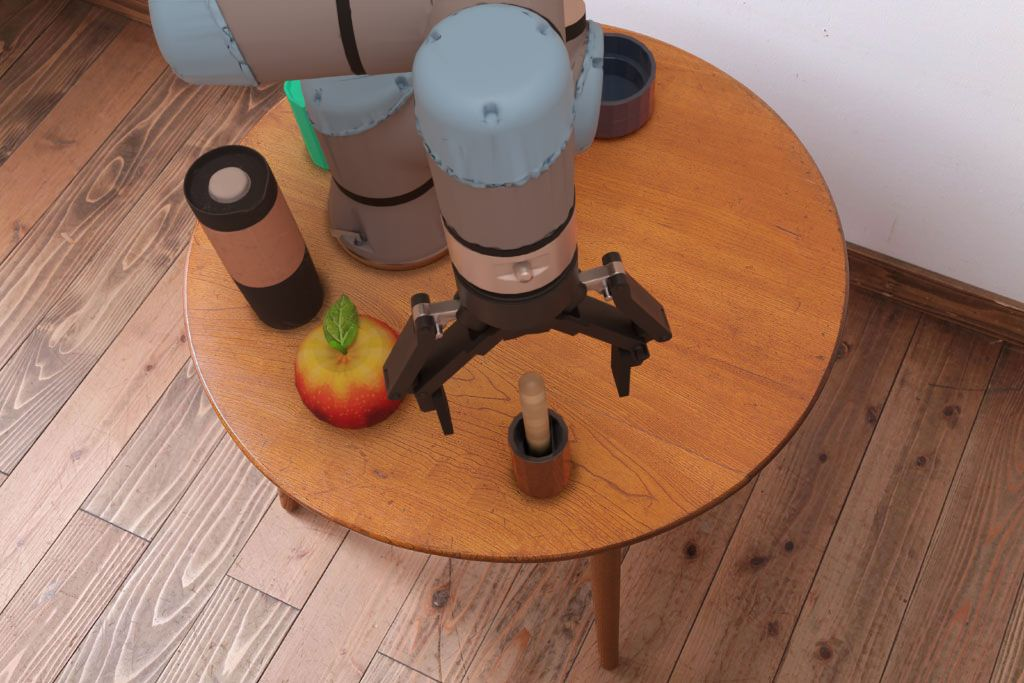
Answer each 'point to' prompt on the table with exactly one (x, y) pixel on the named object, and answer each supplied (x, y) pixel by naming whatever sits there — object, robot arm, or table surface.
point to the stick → (535, 414)
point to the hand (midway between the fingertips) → (533, 400)
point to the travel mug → (254, 234)
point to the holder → (541, 459)
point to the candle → (304, 122)
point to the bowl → (625, 85)
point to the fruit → (346, 368)
